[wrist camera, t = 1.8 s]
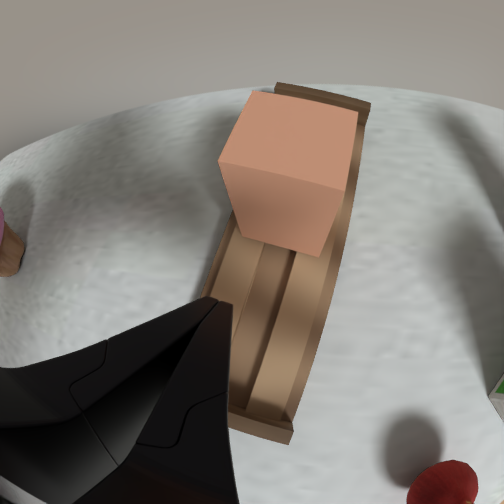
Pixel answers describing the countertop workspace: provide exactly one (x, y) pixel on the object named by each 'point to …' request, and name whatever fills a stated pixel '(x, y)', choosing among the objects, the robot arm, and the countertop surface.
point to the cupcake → (9, 249)
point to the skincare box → (498, 397)
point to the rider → (288, 169)
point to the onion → (444, 484)
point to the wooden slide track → (279, 303)
